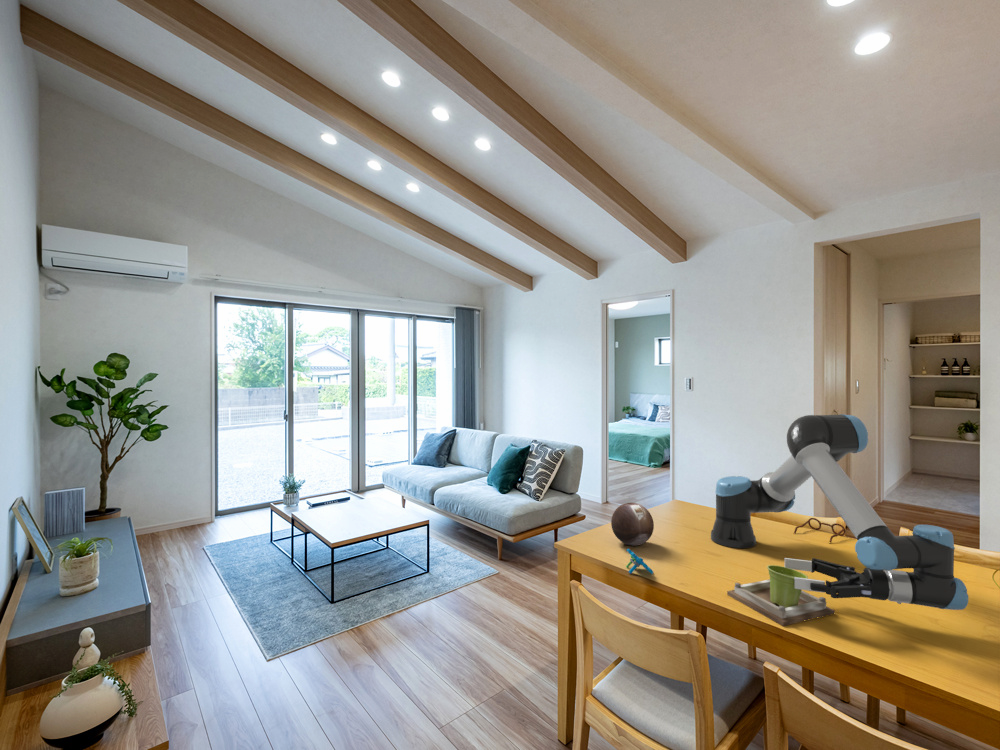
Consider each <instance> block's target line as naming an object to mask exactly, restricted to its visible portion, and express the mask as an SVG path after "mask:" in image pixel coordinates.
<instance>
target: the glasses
mask: <svg viewBox="0 0 1000 750" xmlns="http://www.w3.org/2000/svg"><path fill="white" fill-rule="evenodd" d="M812 520H814V521H816V522H818V525H819V526H818V527H813V525H812V524H811V521H812ZM807 524H808V526H809V528H810V529H812V530H816V531H817V530H821V528H822V525H823V526H827V527H830V528H831V531H832V532H833V535H831V536H830V537H829V538H830V539H829V542H831V543H832V541H833V539H834V538H835V537H836V538H837V537H839V536H840V537H843V536H844V535H845V534H846V532H847V531H846V528H845V526H843V525H842V524H841V523H833V524H830V523H829V524H828V523H826V522H822V521H821V520H819V519H818V518H814V517H810V518H809V519H808V520H807V521H805V522H804V523H803V524H801V525H798V526H795V528H794V532H793V534H794V533H797V530H798V529H799V528H803V527H804V526H806V525H807ZM834 526H838V527H841V528H842V529H841V530H839V531H838V532H836V531H835V528H834ZM829 542H828V543H829Z"/></svg>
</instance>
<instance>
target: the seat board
mask: <svg viewBox="0 0 1000 750" xmlns="http://www.w3.org/2000/svg"><path fill="white" fill-rule="evenodd" d="M726 592H727V593H726V594H727V596H729V597H731V598H732V599H734V600H735V601H738V602H740V603H741V604H743V605H745V606H746V607H748V608H750V609H752V610H753V611H756V612H757V613H759V614H761V615H763V616H765V617H766V618H767V619H769V620H771V621H773V622H774V623H777V624H778V625H780V626H782V627H785V626H790V625H794V624H798V623H797V622H799V623H802V622H801V621H803V622H805V621H804V620H807V621H809V620H808V619H811V620H813V619H812V618H816V619H818V618H817V617H820V618H823V617H822V616H824V617H827V616H826V615H828V616H832V615H831V614H833V615H835V614H834V613H836V612H835V609H833V608H830V607H828V606H827V599H826V597H823V596H820V597H817V596H814V595H813V594H810V593H808V592H806V591H805V590H802V591H801V594H800V598H799V601H798V605H796V606H792V607H787V608H785V607H784V606H779V605H778V604H777V603H773V602H772V601H771V600H770V578H769V579H766V580H760V581H754V582H749V583H744V584H741V583H739V582H735V583H734V589H732V590H727V591H726ZM793 623H794V624H793Z"/></svg>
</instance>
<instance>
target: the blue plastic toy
mask: <svg viewBox="0 0 1000 750" xmlns="http://www.w3.org/2000/svg"><path fill="white" fill-rule="evenodd" d="M626 552H628V554H629V555H630V556H629V557H630V559H629V562H628V563H627V564H626V566H625V567H626V568H627V569H628V568H629V567H631V565H632V564H633V566H632V567H631V568H630V569H629V571H628V573H629V574H630V575H631V574H633V573H634V571H635V570H636V569H637V568H639V567H640V566H642V567H643V568H644V569H645V570H646V571H647V572H648V573H650V574H651V575H653V574H654V570H653V569H652V568H651V567H649V566H648V565H647V564H646V563H645V561H644V558H642V557H639V556H638V555H637V554H636V553H635V552H634V551H632V550H631V549H630V548H627V549H626Z"/></svg>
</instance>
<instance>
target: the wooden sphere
mask: <svg viewBox="0 0 1000 750" xmlns="http://www.w3.org/2000/svg"><path fill="white" fill-rule="evenodd" d="M610 523H611V526H610V527H611V529H612V532H613V534H614V535H615V537H616V538H617V539H618V540H619V541H620V542H622V544H625V545H628V546H633V547H635V546H640V545H644V544H645V543H647V541H649V540H650V538H651V537H652V535H653V532H654V529H655V527H654V526H655V525H654V519H653V516H652V514H651V513H650V511H649V510H648V509H647V508H646V507H645V506H643V505H641V504H639V503H636V502H626V503H623V504H621V505H619V506H617V508H616V509H615V510H614V511H613V513H612V515H611V521H610Z"/></svg>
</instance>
